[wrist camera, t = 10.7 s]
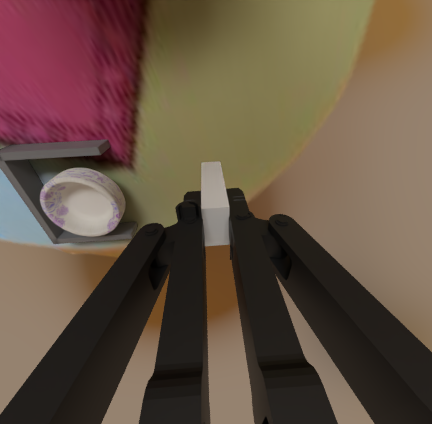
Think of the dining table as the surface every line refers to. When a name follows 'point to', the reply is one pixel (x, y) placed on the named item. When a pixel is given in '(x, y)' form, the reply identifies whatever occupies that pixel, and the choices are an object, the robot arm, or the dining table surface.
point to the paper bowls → (83, 202)
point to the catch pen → (31, 185)
